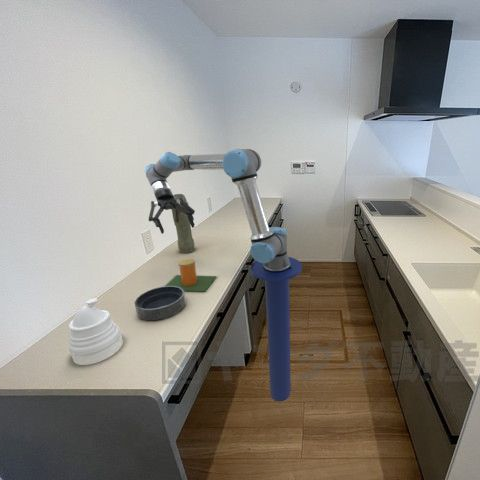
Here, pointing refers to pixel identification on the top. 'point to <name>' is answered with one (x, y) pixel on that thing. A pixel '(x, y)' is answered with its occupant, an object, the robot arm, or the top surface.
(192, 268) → the tea tin
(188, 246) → the green elongated piece
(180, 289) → the bowl
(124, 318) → the top surface
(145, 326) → the top surface
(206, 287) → the mat
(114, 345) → the honey pot
